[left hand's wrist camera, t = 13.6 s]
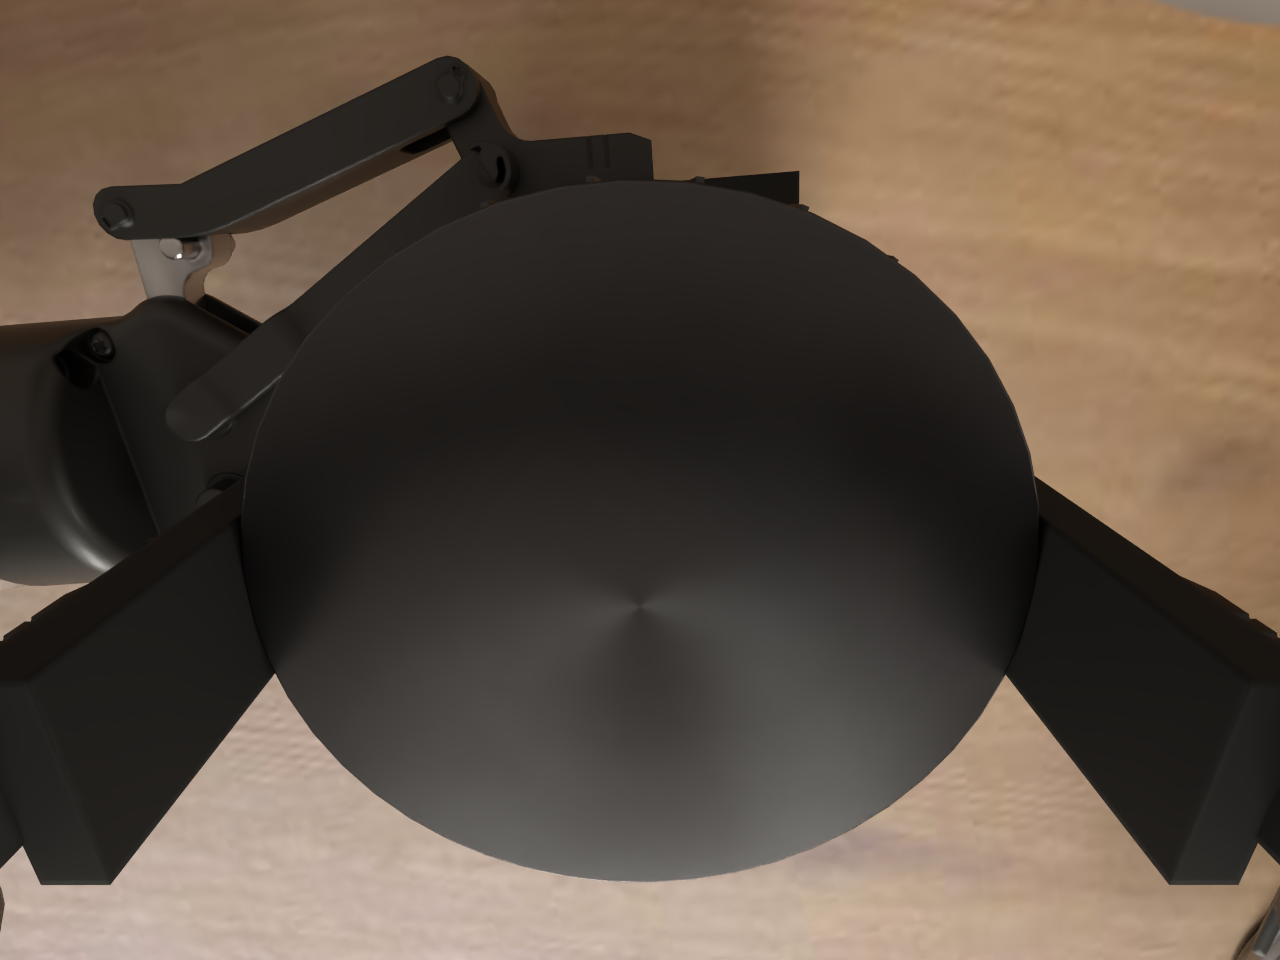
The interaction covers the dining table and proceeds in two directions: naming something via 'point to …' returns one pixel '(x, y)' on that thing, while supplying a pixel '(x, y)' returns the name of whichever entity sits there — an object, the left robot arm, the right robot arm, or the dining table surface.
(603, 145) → the right robot arm
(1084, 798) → the dining table surface
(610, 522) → the lid
